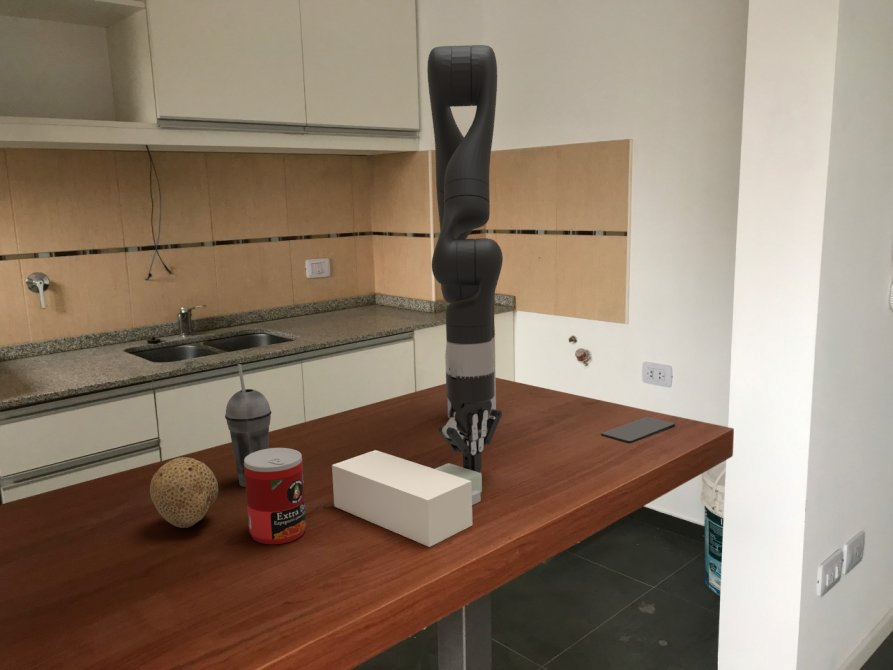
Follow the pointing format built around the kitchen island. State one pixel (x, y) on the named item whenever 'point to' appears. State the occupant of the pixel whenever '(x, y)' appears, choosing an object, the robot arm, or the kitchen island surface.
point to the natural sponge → (183, 491)
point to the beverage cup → (247, 424)
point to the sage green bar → (463, 474)
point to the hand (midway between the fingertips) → (472, 474)
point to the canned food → (275, 495)
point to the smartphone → (638, 429)
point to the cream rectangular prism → (404, 496)
